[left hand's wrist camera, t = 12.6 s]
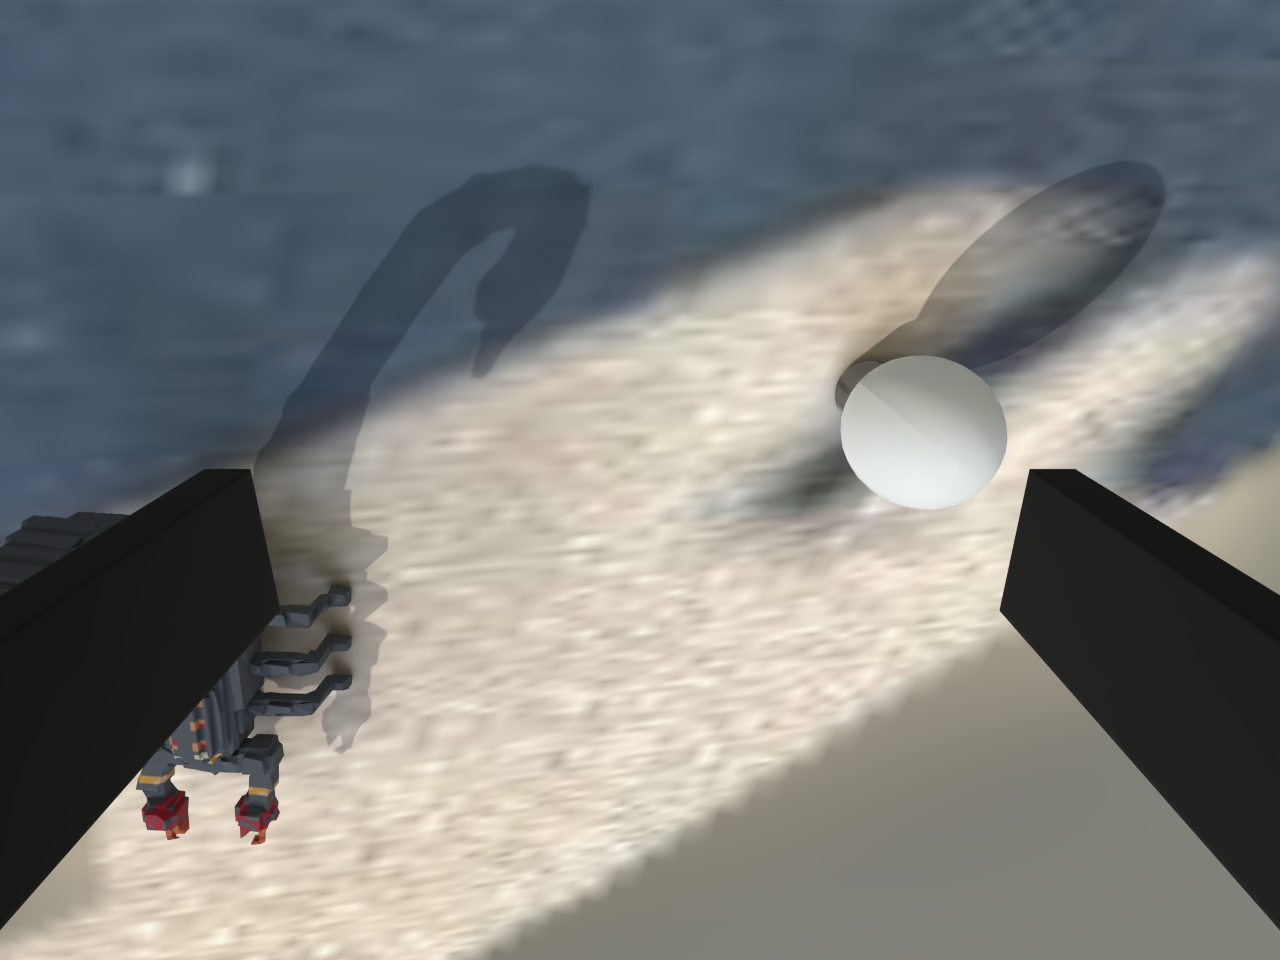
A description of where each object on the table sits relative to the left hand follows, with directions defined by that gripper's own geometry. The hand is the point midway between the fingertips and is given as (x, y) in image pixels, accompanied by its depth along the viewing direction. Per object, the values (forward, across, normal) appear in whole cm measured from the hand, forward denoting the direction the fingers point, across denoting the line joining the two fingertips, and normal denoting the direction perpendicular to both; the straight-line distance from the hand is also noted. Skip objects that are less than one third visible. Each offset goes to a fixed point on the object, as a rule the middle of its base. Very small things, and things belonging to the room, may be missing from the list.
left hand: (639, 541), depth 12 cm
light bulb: (+27, -13, +4) cm, 30 cm away
